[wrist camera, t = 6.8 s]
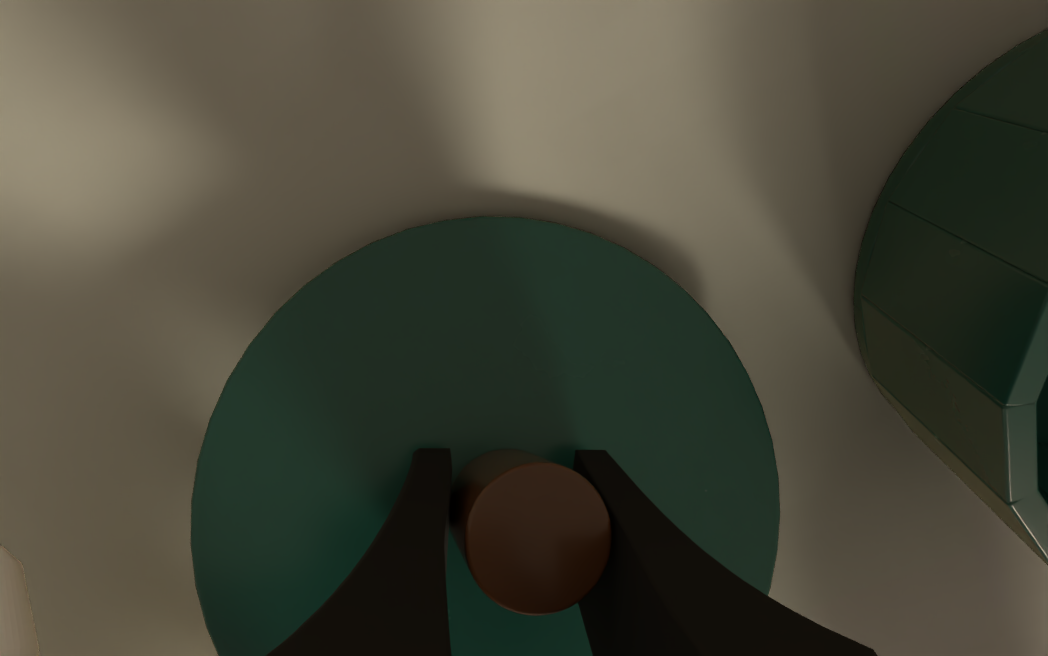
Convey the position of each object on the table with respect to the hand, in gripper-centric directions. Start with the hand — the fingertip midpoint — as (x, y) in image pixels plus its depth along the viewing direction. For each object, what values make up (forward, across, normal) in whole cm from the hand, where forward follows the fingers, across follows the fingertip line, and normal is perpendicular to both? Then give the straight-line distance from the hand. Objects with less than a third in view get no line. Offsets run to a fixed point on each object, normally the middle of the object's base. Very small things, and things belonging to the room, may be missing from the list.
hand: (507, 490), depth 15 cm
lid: (0, 0, +1) cm, 1 cm away
